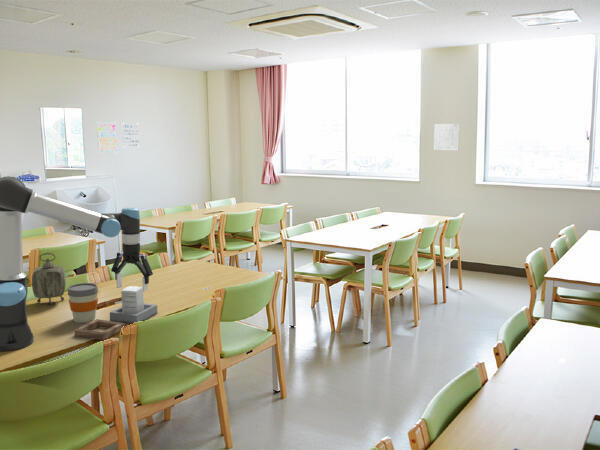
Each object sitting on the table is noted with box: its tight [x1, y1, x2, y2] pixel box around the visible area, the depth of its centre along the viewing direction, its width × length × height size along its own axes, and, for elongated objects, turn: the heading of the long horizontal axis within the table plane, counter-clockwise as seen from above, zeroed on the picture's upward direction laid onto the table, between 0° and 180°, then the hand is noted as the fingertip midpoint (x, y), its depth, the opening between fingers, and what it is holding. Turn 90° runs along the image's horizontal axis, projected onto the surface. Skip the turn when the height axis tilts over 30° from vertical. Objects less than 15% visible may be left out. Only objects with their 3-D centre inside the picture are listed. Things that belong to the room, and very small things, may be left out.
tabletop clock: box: [31, 252, 67, 305], centre depth 261 cm, size 14×9×25 cm, turn 110°
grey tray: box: [109, 302, 158, 325], centre depth 245 cm, size 16×14×4 cm
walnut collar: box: [73, 318, 125, 341], centre depth 226 cm, size 14×14×2 cm
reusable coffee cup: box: [67, 282, 99, 324], centre depth 240 cm, size 13×13×15 cm
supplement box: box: [120, 285, 145, 314], centre depth 244 cm, size 7×7×13 cm
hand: (132, 289), depth 243 cm, fingers open, 13 cm apart
